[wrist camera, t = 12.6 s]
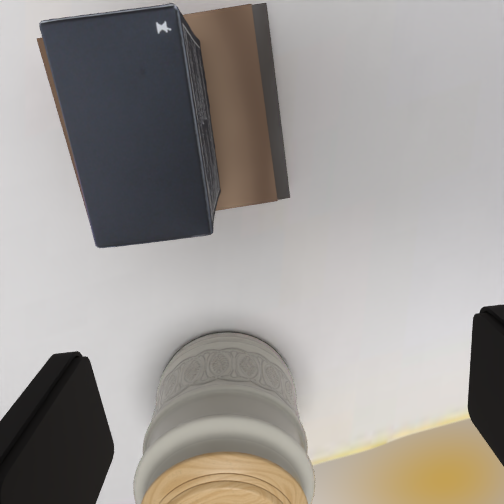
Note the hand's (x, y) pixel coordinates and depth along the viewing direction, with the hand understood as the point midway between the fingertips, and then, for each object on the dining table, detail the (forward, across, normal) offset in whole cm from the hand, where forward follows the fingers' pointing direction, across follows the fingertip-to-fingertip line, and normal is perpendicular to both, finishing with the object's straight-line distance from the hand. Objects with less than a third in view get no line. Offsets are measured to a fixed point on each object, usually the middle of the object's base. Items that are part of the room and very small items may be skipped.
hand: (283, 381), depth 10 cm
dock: (+26, +6, -6) cm, 27 cm away
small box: (+22, +6, -6) cm, 24 cm away
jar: (+26, +5, +19) cm, 33 cm away
